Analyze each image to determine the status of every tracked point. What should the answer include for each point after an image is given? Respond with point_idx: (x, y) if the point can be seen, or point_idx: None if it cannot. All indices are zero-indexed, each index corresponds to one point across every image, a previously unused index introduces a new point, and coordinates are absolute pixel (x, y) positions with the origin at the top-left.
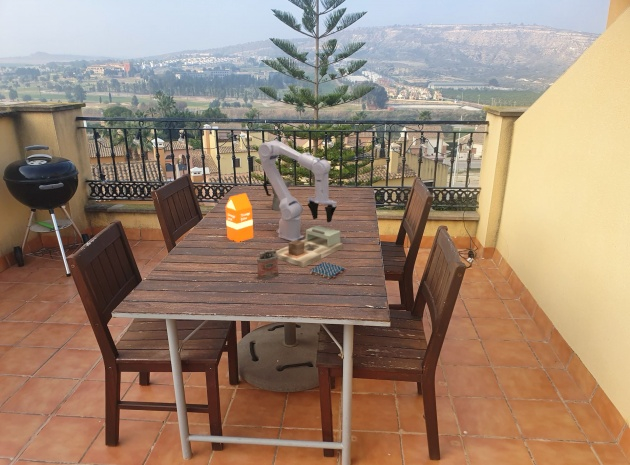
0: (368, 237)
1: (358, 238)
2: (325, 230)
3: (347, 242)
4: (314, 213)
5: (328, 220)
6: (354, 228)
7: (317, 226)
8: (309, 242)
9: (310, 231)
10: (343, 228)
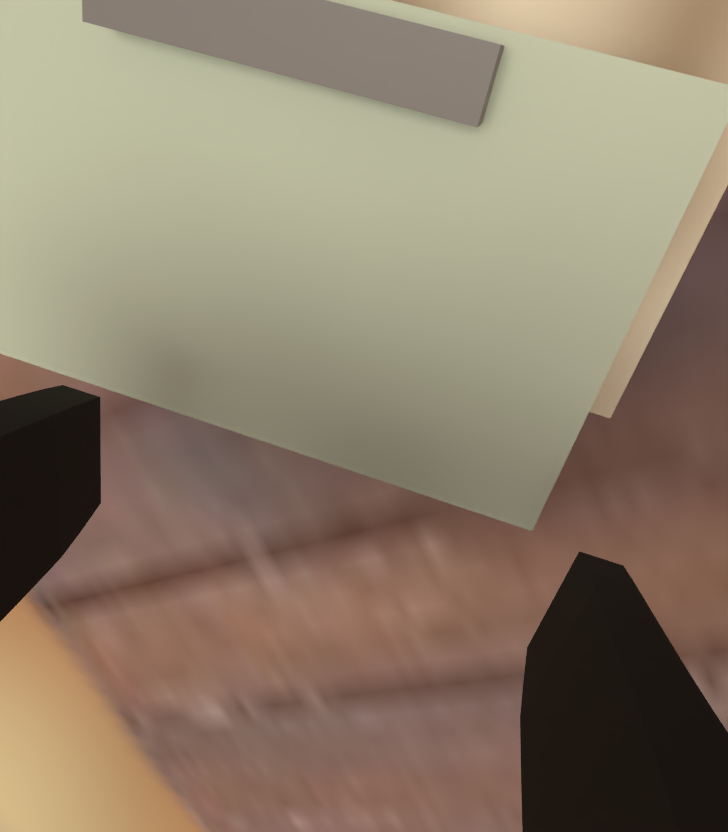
0: (74, 600)
1: (130, 560)
2: (227, 280)
3: (157, 428)
4: (596, 745)
5: (2, 408)
6: (293, 766)
7: (504, 464)
8: (568, 26)
9: (553, 43)
10: (387, 759)
